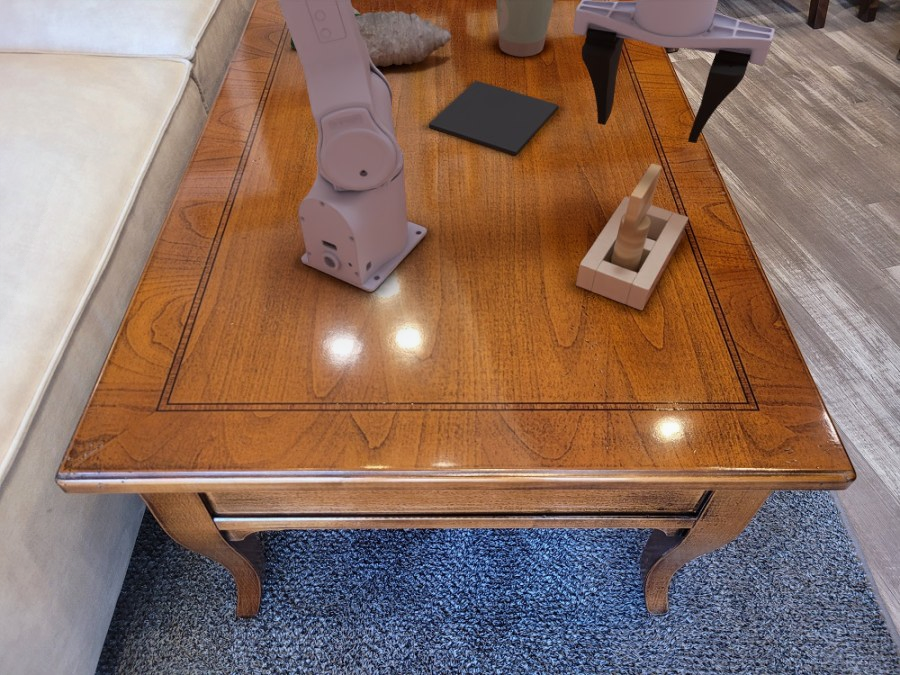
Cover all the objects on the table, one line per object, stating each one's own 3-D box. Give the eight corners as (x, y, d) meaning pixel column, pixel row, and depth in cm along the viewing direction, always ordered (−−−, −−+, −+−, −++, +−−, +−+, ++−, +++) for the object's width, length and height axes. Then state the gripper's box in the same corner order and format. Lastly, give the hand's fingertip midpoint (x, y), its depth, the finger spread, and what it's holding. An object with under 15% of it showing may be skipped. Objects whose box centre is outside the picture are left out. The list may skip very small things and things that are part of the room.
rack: (681, 238, 64) (689, 216, 62) (642, 311, 58) (649, 290, 56) (619, 217, 66) (625, 195, 64) (575, 285, 60) (579, 264, 58)
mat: (515, 156, 73) (516, 152, 72) (428, 127, 76) (428, 123, 76) (558, 108, 79) (558, 104, 79) (475, 84, 83) (475, 80, 82)
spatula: (624, 298, 59) (651, 201, 51) (598, 288, 60) (621, 191, 52) (643, 265, 62) (671, 168, 54) (618, 256, 62) (642, 159, 55)
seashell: (457, 50, 82) (429, -16, 77) (358, 98, 85) (325, 37, 80) (452, 37, 87) (426, -27, 82) (359, 82, 90) (328, 23, 85)
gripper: (801, -53, 48) (743, 119, 58) (600, -77, 52) (579, 88, 62) (791, -13, 44) (730, 165, 54) (573, -42, 48) (555, 128, 58)
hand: (648, 127), depth 58 cm, fingers open, 7 cm apart
